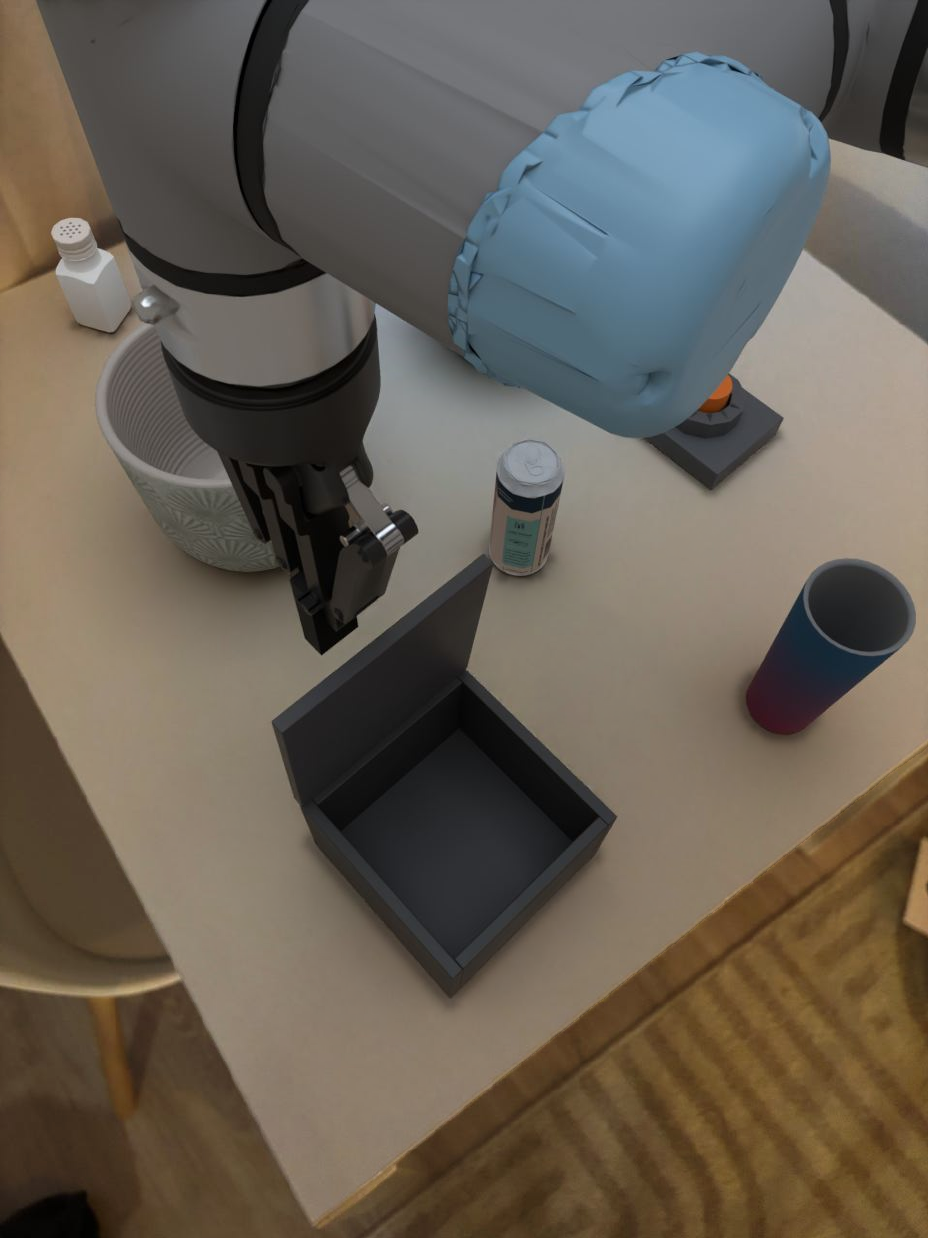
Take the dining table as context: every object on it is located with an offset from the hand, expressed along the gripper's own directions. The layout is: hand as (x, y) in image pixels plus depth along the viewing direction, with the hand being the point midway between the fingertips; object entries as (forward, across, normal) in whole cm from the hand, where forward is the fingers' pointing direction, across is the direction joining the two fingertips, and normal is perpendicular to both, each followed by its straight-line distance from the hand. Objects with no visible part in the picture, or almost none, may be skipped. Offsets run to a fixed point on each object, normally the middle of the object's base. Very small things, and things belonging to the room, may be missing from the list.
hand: (331, 632), depth 53 cm
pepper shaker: (+17, -47, +10) cm, 51 cm away
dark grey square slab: (0, +5, 0) cm, 5 cm away
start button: (+13, -2, +41) cm, 43 cm away
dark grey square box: (+17, +11, 0) cm, 20 cm away
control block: (+17, -2, +41) cm, 44 cm away
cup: (+17, +19, +25) cm, 36 cm away
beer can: (+17, -3, +20) cm, 26 cm away
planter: (+17, -20, +7) cm, 27 cm away
